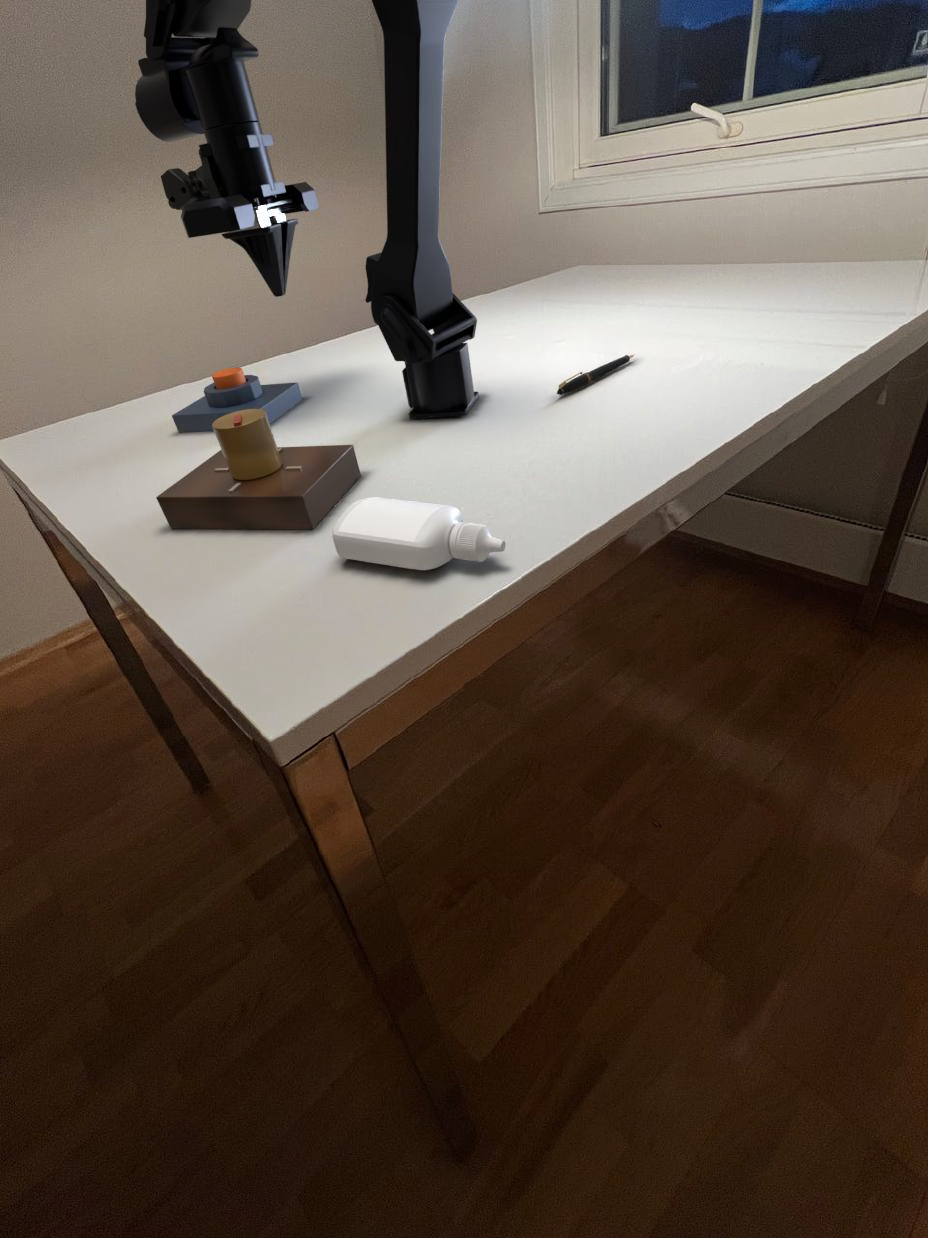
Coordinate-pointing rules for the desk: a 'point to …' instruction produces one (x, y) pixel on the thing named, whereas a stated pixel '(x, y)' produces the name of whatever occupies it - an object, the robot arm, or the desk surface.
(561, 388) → the fountain pen
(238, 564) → the desk surface
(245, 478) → the brass knob
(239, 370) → the orange button
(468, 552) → the eye dropper bottle
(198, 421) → the button box
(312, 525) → the knob plate
